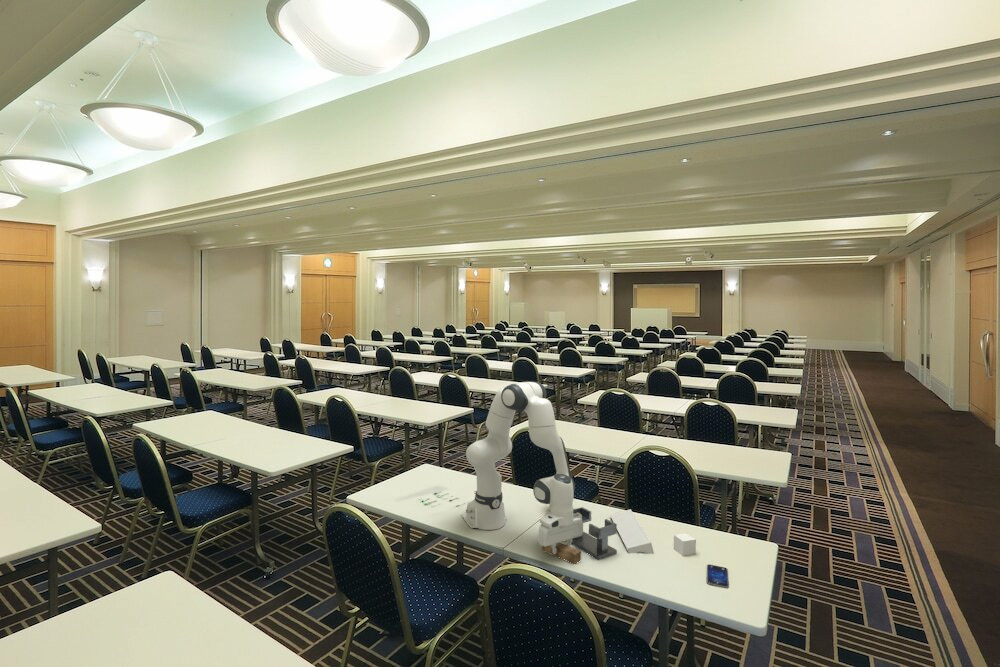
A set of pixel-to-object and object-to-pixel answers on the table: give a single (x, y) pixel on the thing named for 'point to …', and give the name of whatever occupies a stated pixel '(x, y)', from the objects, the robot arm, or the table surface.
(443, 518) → the table surface
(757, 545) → the table surface
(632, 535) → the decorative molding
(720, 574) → the smartphone
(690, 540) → the white cube
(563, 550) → the rail
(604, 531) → the bracket stand
